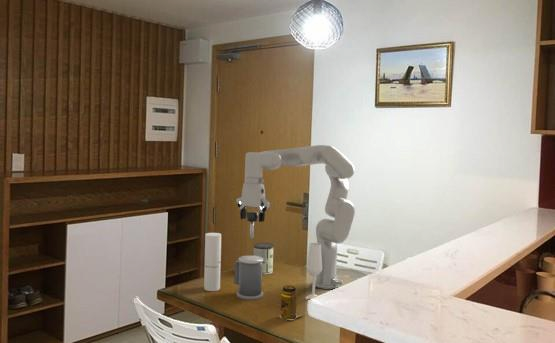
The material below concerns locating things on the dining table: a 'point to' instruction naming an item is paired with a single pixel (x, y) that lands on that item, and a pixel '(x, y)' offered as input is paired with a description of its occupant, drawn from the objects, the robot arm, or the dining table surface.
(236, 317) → the dining table surface
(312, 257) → the champagne flute
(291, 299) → the condiment
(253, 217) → the plunger
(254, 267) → the press housing
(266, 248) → the coffee can
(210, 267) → the cylindrical container
